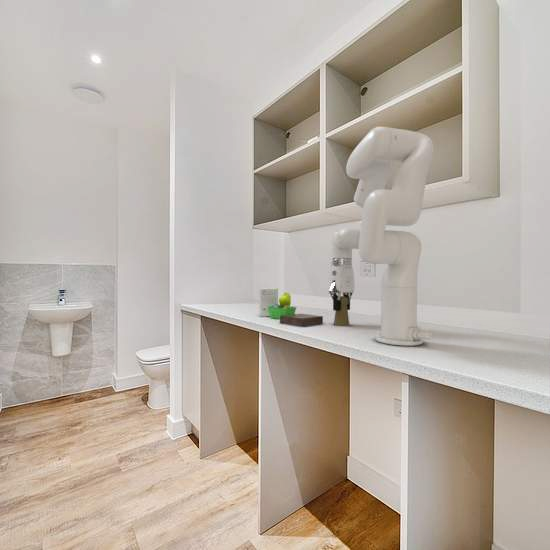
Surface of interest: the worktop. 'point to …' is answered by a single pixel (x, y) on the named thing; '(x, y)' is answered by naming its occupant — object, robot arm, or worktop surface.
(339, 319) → the olive tapered cylinder
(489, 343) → the worktop surface
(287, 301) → the fruit basket
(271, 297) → the small box
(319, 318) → the block
